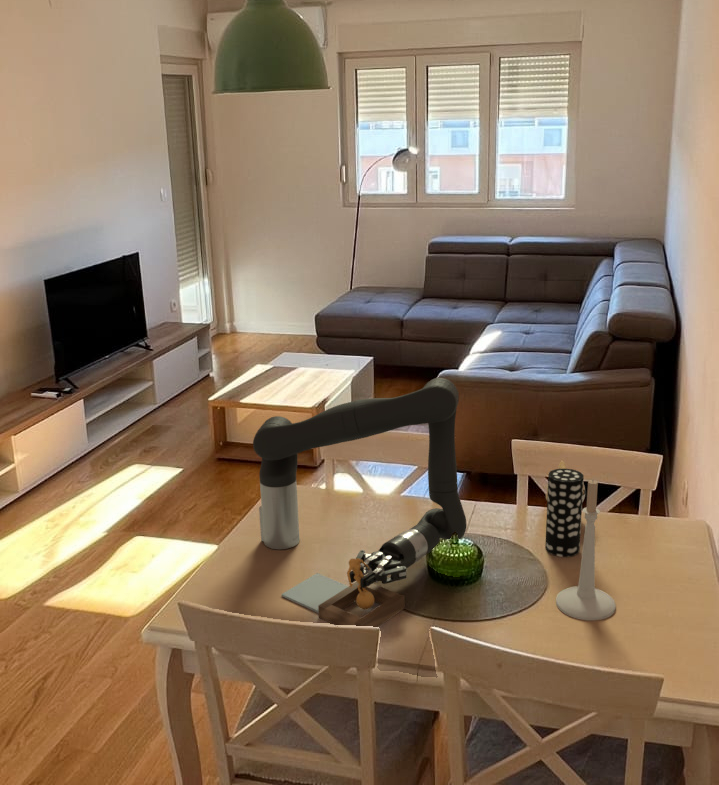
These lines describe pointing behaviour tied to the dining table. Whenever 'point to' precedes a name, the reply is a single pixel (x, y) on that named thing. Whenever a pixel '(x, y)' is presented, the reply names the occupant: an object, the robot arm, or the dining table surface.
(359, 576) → the figurine
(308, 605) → the ceramic tile
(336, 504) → the dining table surface
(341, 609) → the pocket frame
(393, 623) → the dining table surface
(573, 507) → the white-spotted black cylinder
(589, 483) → the candlestick
